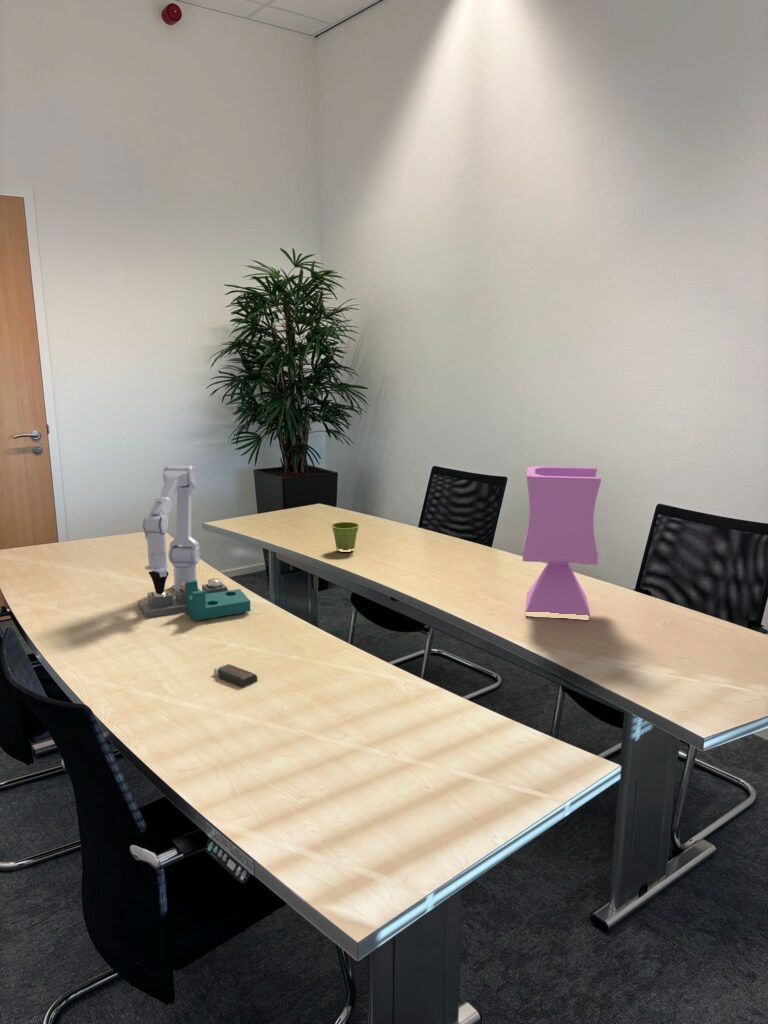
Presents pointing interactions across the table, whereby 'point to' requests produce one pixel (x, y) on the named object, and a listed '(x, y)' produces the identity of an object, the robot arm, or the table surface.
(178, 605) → the control panel
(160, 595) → the knob
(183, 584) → the middle knob
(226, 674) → the usb drive
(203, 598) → the teal l-shaped bracket
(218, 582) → the knob
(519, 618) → the table surface
